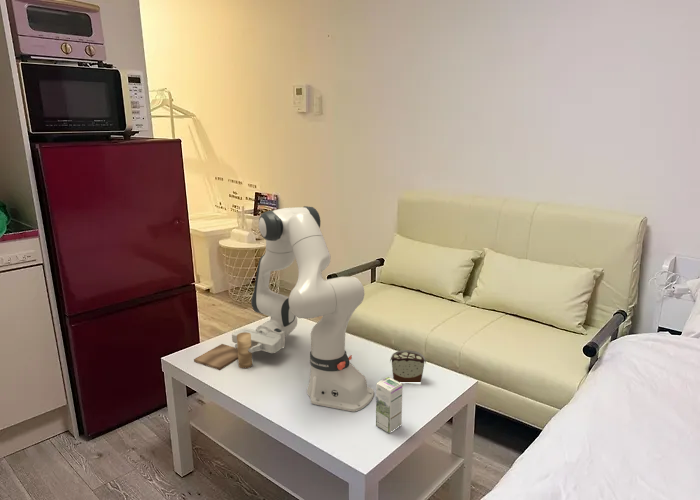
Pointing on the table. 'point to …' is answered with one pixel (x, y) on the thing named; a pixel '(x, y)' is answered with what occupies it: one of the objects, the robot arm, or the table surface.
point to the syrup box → (388, 404)
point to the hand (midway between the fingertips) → (242, 348)
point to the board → (218, 357)
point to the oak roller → (244, 350)
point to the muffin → (407, 366)
